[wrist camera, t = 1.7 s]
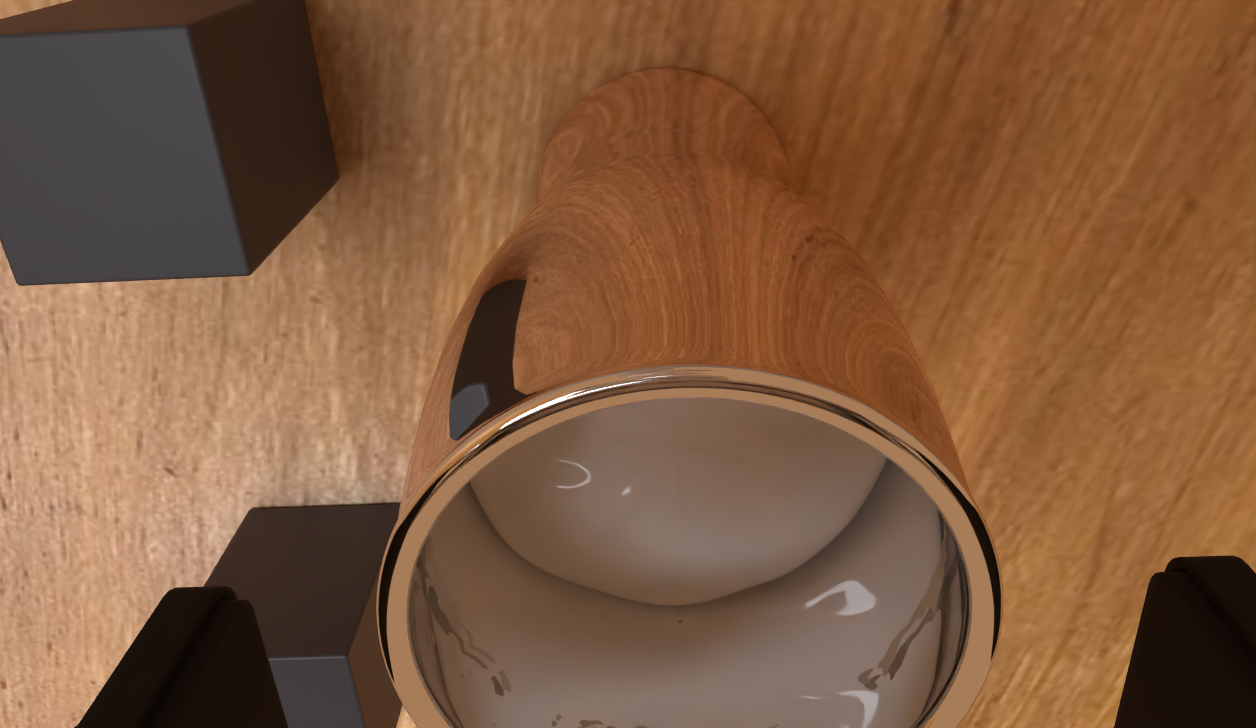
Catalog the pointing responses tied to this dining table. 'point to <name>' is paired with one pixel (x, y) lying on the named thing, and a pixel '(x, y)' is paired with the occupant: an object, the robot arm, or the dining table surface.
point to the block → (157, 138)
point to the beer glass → (683, 458)
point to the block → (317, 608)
